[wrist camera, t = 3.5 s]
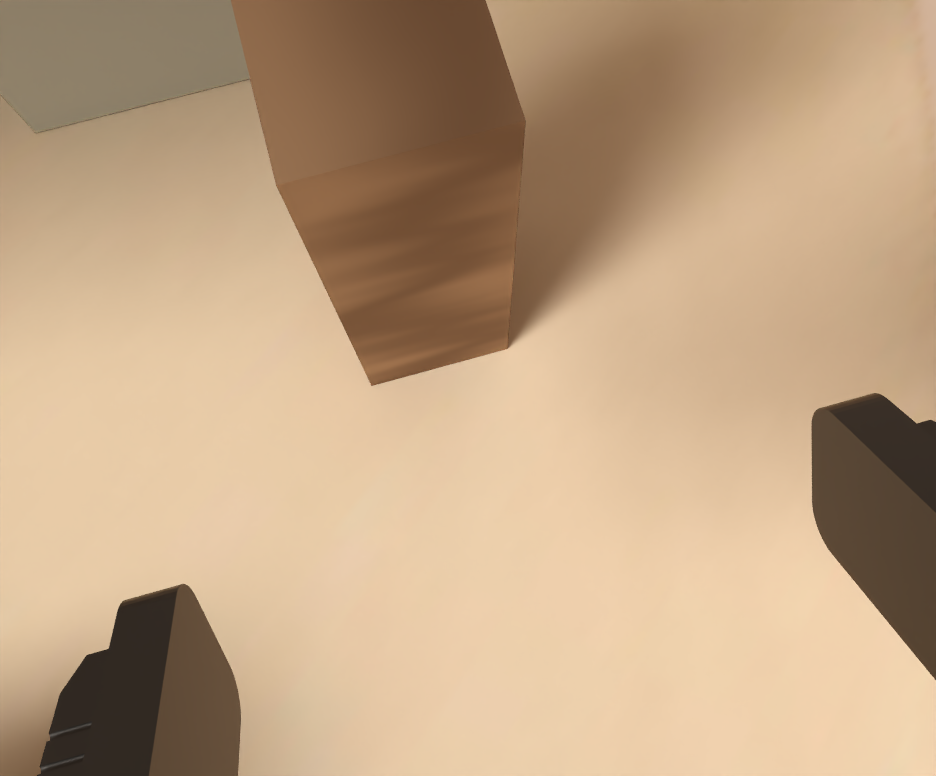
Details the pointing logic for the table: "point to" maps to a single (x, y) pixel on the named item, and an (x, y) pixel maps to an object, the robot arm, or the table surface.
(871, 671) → the table surface
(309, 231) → the brown wooden bar
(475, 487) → the table surface
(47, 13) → the socket block
